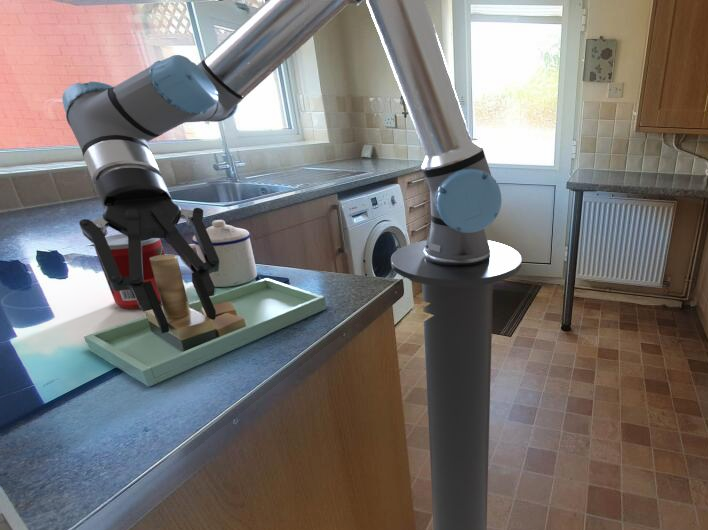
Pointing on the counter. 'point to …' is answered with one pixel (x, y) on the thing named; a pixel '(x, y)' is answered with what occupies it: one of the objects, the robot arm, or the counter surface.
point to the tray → (167, 360)
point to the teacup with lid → (229, 254)
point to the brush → (177, 307)
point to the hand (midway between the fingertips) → (189, 321)
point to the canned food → (121, 256)
